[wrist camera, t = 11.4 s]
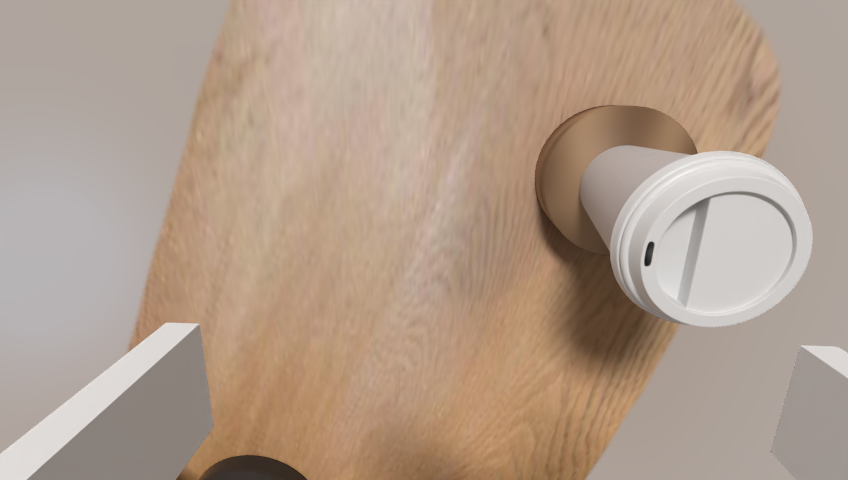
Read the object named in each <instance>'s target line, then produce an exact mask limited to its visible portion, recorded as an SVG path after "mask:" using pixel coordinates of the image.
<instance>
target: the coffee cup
mask: <svg viewBox="0 0 848 480" xmlns="http://www.w3.org/2000/svg"><path fill="white" fill-rule="evenodd" d="M580 199H581V202H582V205H583V207H584V209H585V210H586V212H587V214H588V215H589V217H590V219H591V221H592V222H593V224H594V226H595V227H596V229H597V231H598V232H599V234H600V236H601V238H602V239H603V241H604V243H605V244H606V246H607V248H608V250H609V251H610V259H611V265H612V269H613V273H614V276H615V278H616V280H617V282H618V284H619V286H620V288H621V289H622V290H623V292H624V293H625V294H626V296H627V297H628V298H629V299H630V300H631V301H632V302H634V303H635V304H636V305H637V306H639V307H640V308H642V309H643V310H645V311H647V312H649V313H650V314H652V315H654V316H657V317H659V318H661V319H664V320H667V321H671V322H675V323H679V324H685V325H693V326H700V327H723V326H729V325H734V324H738V323H741V322H744V321H747V320H750V319H752V318H754V317H757V316H759V315H761V314H762V313H764V312H766V311H767V310H769V309H771V308H772V307H773V306H775V305H776V304H777V303H779V302H780V301H781V300H782V299H783V298H784V297H785V296H786V295H787V294H788V293H789V292H790V291H791V290H792V289H793V288H794V287H795V285H796V284H797V282H798V281H799V279H800V278H801V276H802V275H803V273H804V271H805V269H806V266H807V264H808V261H809V258H810V255H811V250H812V242H813V234H812V227H811V222H810V219H809V217H808V214H807V212H806V210H805V207H804V204H803V202H802V200H801V198H800V196H799V194H798V193H797V191H796V189H795V187H794V186H793V185H792V183H791V182H790V181H789V180H788V179H787V178H786V177H785V176H784V175H783V174H782V173H781V172H779V171H778V170H777V169H776V168H775V167H773V166H772V165H770V164H769V163H767V162H765V161H764V160H761V159H759V158H757V157H754V156H751V155H748V154H744V153H739V152H732V151H712V152H704V153H699V154H695V155H689V154H682V153H676V152H670V151H663V150H657V149H651V148H645V147H638V146H631V145H623V146H617V147H613V148H610V149H608V150H606V151H604V152H602V153H601V154H599V155H598V156H597V157H595V158H594V159H593V160H592V161H591V162H590V164H589V165H588V166H587V168H586V169H585V171H584V173H583V175H582V178H581V182H580Z"/></svg>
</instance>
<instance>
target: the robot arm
mask: <svg viewBox="0 0 848 480" xmlns="http://www.w3.org/2000/svg"><path fill="white" fill-rule="evenodd" d="M213 427H214V423H213V416H212V409H211V402H210V395H209V388H208V381H207V374H206V367H205V360H204V353H203V346H202V339H201V332H200V325H199V324H189V323H165V324H164V325H163V326H161V327H160V328H159V329H158V330H156V331H155V332H154V333H153V334H151V335H150V336H149V337H148V338H146V339H145V340H144V341H142V342H141V343H140V344H139V345H137V346H136V347H135V348H134V349H132V350H131V351H130V352H129V353H127V354H126V355H125V356H123V357H122V358H121V359H120V360H119V361H117V362H116V363H115V364H113V365H112V366H111V367H110V368H108V369H107V370H106V371H105V372H103V373H102V374H101V375H99V376H98V377H97V378H96V379H94V380H93V381H92V382H91V383H89V384H88V385H87V386H86V387H84V388H83V389H82V390H80V391H79V392H78V393H77V394H75V395H74V396H73V397H72V398H70V399H69V400H68V401H67V402H66V403H64V404H63V405H61V406H60V407H59V408H58V409H56V410H55V411H54V412H53V413H51V414H50V415H49V416H48V417H46V418H45V419H44V420H43V421H41V422H40V423H39V424H37V425H36V426H35V427H34V428H32V429H31V430H30V431H29V432H28V433H26V434H25V435H24V436H23V437H21V438H20V439H18V440H17V441H16V442H15V443H13V444H12V445H11V446H10V447H8V448H7V449H6V450H5V451H3V452H2V453H1V454H0V480H176V479H177V477H178V476H179V474H180V473H181V472H182V470H183V469H184V467H185V466H186V465H187V463H188V462H189V461H190V459H191V458H192V456H193V455H194V454H195V452H196V451H197V449H198V448H199V447H200V445H201V444H202V442H203V441H204V440H205V438H206V437H207V435H208V434H209V433H210V431H211V430H212V428H213ZM771 453H772V454H773V455H774V456H775V457H776V458H777V459H778V461H779V462H780V463H781V464H782V465H783V466H784V467H785V468H786V469H787V470H788V471H789V472H790V474H792V476H793V477H794V478H795V479H796V480H848V353H847V352H845V351H843V350H842V349H840V348H839V347H827V346H802V345H801V346H800V349H799V352H798V356H797V359H796V363H795V366H794V370H793V373H792V377H791V380H790V384H789V388H788V391H787V395H786V398H785V402H784V405H783V409H782V412H781V416H780V419H779V423H778V426H777V430H776V434H775V437H774V440H773V444H772V447H771ZM199 480H306V479H305V478H304V477H303V476H302V475H301V474H299V473H298V472H297V471H295V470H294V469H292V468H291V467H289V466H287V465H285V464H283V463H281V462H279V461H276V460H273V459H270V458H266V457H261V456H248V455H246V456H236V457H231V458H227V459H224V460H222V461H220V462H218V463H216V464H214V465H213V466H211V467H210V468H209V469H207V470H206V471H205V472H204V474H203V475H202V476H201V478H200V479H199Z"/></svg>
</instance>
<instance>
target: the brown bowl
mask: <svg viewBox="0 0 848 480" xmlns="http://www.w3.org/2000/svg"><path fill="white" fill-rule="evenodd" d="M623 145H631V146H638V147H645V148H651V149H657V150H663V151H670V152H676V153H682V154H689V155H695V154H698V153H697V149H696V147H695V145H694V143H693V140H692V139H691V137H690V136H689V134H688V133H687V131H686V130H685V129H684V128H683V127H682V126H681V125H680V124H679V123H678V122H677V121H675V120H674V119H673V118H671V117H670V116H668V115H666V114H665V113H662V112H660V111H657V110H655V109H651V108H647V107H639V106H616V105H610V106H599V107H593V108H590V109H587V110H584V111H582V112H579V113H577V114H575V115H574V116H572V117H570V118H569V119H567V120H566V121H565V122H563V123H562V124H561V125H560V126H559V127H558V128H557V129H556V130H555V131H554V132H553V133H552V134H551V135H550V137H549V138H548V139H547V141H546V143H545V144H544V146H543V148H542V150H541V152H540V155H539V158H538V161H537V164H536V170H535V189H536V193H537V198H538V200H539V203H540V205H541V207H542V209H543V211H544V212H545V214H546V215H547V216H548V218H549V219H550V220H551V221H552V222H553V224H554V225H555V226H556V227H557V228H558V229H559V231H560V232H561V233H562V234H563V235H564V236H565V237H566V238H567V239H568V240H570V241H571V242H572V243H574V244H575V245H577V246H578V247H580V248H582V249H584V250H587V251H589V252H592V253H596V254H600V255H608V256H610V251H609V250H608V248H607V246H606V244H605V243H604V241H603V239H602V238H601V236H600V234H599V232H598V231H597V229H596V227H595V226H594V224H593V222H592V221H591V219H590V217H589V215H588V214H587V212H586V210H585V209H584V207H583V205H582V202H581V199H580V182H581V178H582V175H583V173H584V171H585V169H586V168H587V166H588V165H589V164H590V162H591V161H592V160H593V159H594V158H595V157H597V156H598V155H599V154H601V153H602V152H604V151H606V150H608V149H610V148H613V147H617V146H623Z"/></svg>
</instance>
